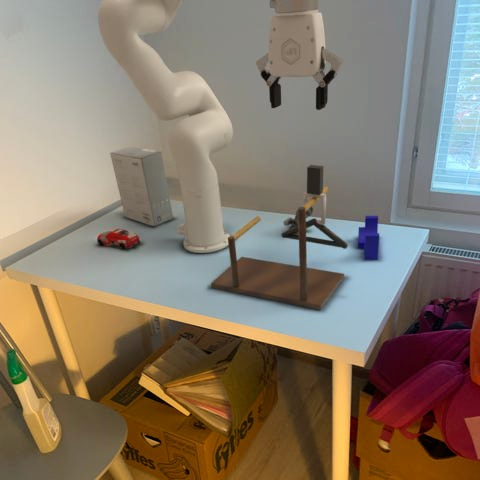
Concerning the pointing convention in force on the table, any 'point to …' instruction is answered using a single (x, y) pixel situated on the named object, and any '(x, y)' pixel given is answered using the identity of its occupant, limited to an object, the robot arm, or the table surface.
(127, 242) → the race car
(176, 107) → the robot arm
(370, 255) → the cable clip
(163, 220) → the hard drive box
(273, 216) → the table surface
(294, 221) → the eagle figurine
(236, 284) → the rack
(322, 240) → the hanger
